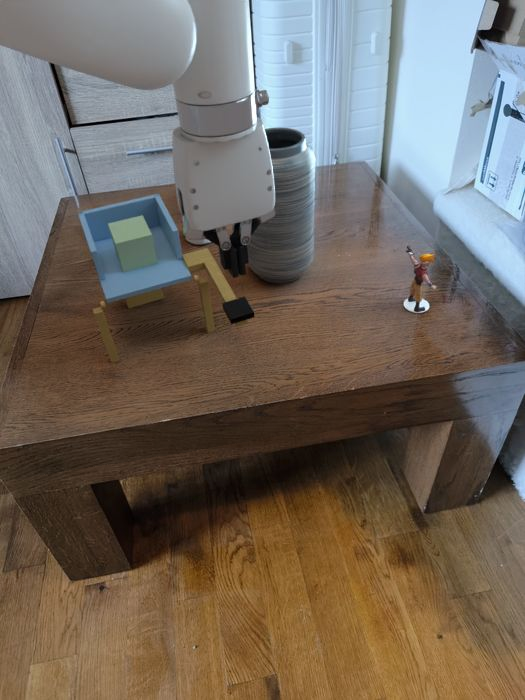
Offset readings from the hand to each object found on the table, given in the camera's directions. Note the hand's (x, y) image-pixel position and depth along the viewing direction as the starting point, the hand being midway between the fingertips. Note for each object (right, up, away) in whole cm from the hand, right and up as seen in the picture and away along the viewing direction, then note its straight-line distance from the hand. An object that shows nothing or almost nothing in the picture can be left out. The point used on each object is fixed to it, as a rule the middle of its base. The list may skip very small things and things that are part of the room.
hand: (235, 270), depth 62 cm
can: (-8, +12, +38) cm, 41 cm away
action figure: (+27, -2, +20) cm, 34 cm away
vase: (+6, +4, +29) cm, 30 cm away
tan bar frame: (-14, -5, +21) cm, 25 cm away
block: (-15, +4, +13) cm, 20 cm away
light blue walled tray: (-10, 0, +10) cm, 15 cm away
